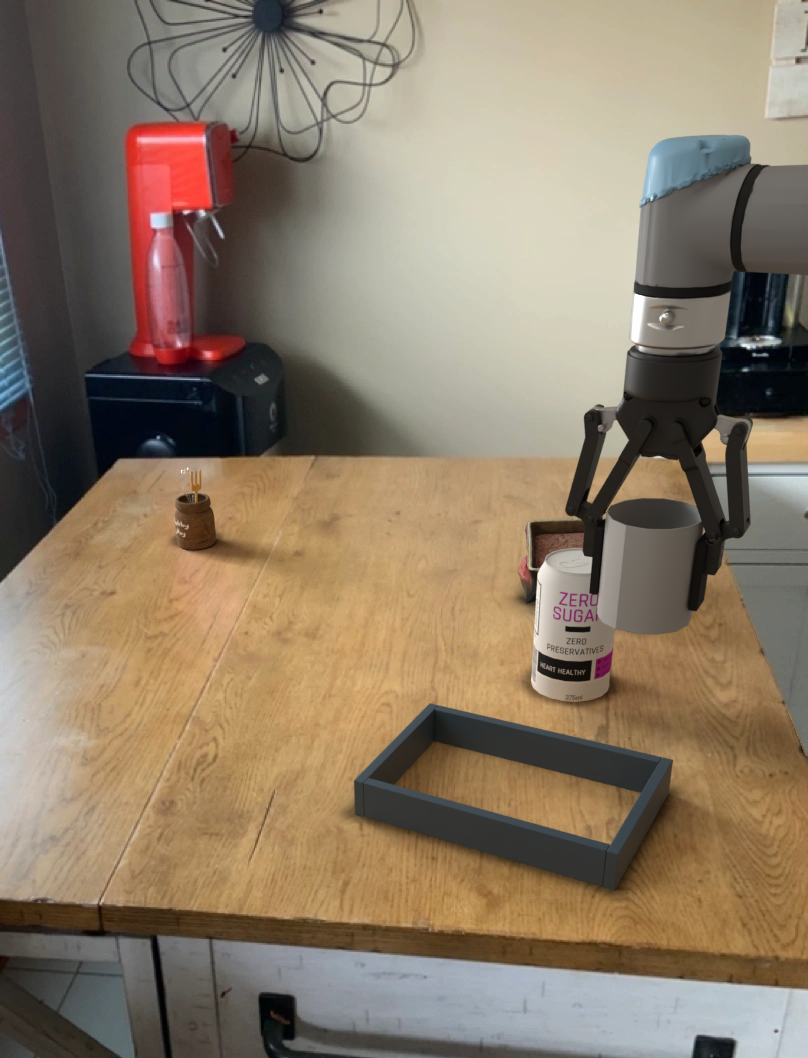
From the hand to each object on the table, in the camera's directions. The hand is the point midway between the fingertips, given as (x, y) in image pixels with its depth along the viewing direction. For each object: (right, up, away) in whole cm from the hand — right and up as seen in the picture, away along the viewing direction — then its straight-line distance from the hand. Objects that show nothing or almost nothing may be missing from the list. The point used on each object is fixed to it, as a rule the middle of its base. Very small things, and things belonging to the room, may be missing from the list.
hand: (645, 596), depth 105 cm
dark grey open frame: (-13, -20, -1) cm, 23 cm away
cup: (0, -2, +1) cm, 2 cm away
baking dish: (+4, +5, +40) cm, 41 cm away
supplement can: (-2, -8, +18) cm, 20 cm away
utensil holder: (-46, +15, +64) cm, 80 cm away
